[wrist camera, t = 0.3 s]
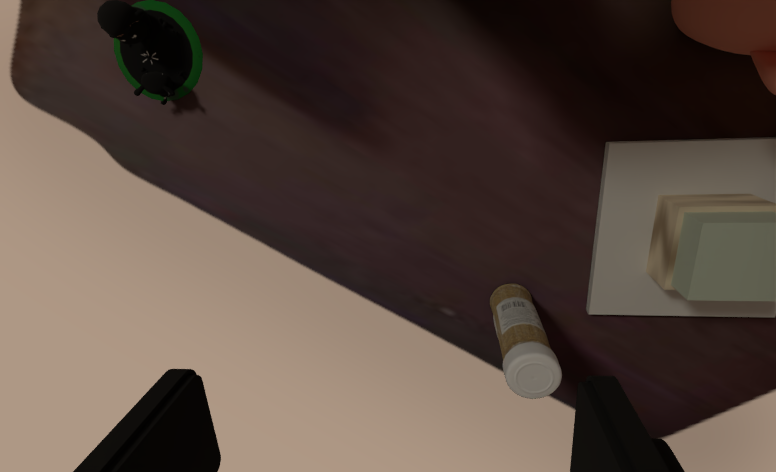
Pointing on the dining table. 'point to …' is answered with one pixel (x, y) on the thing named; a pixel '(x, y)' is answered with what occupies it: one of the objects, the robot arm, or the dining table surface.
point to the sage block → (726, 256)
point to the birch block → (671, 224)
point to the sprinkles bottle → (524, 343)
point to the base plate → (637, 213)
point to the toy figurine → (153, 47)
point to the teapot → (733, 29)
